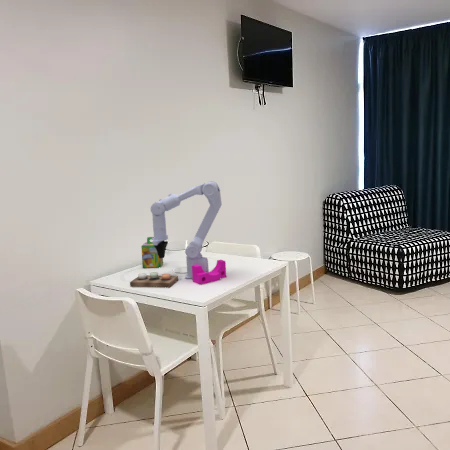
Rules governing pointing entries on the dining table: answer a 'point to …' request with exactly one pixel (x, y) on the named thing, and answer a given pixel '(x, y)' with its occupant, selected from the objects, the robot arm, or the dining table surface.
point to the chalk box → (150, 255)
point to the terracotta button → (165, 276)
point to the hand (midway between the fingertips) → (161, 257)
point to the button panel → (154, 282)
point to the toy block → (209, 273)
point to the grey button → (142, 276)
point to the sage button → (153, 274)
